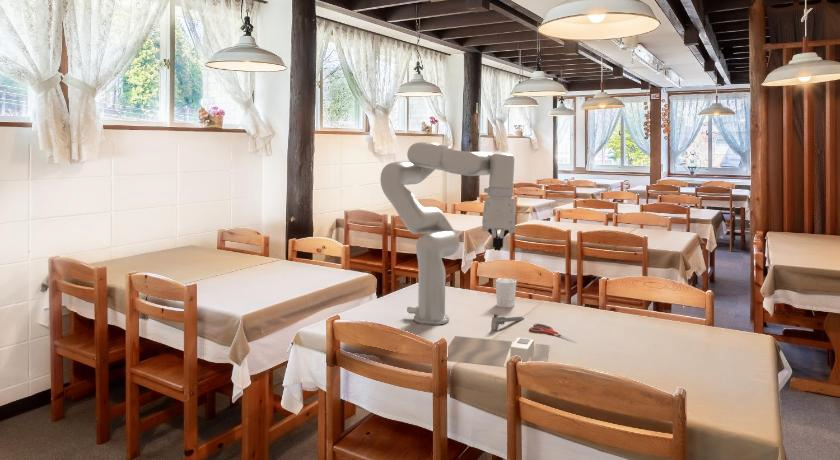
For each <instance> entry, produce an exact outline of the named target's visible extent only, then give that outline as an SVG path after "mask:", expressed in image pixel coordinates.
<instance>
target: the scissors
mask: <svg viewBox="0 0 840 460" xmlns="http://www.w3.org/2000/svg"><path fill="white" fill-rule="evenodd" d="M528 331H529V332H530V333H534V334H545V335H549V336H554V337H556V338H560V339H563V340H564V341H565V340H566V341H568V342H571V343H575V344H577V341H574V340H572V339H571V338H568V337H567V336H564V335H561V334H559V332H557V331H555V330H554V327H551V326H549V325H547V324H542V323H534V324H533V326H532V327H530V328H528Z"/></svg>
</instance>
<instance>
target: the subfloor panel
mask: <svg viewBox="0 0 840 460" xmlns="http://www.w3.org/2000/svg"><path fill="white" fill-rule="evenodd" d="M513 343H514V341H510V340H499V339H490V338H489V339H487V338H482V337H481V338H480V337H479V338H478V337H468V336H461V335H460V336H459V335H458V336H457V335H455V336H453V339H452V340H451V342H450V344H448V346H447V348H448V357H447V361H448V362H454V363H465V364H471V365H481V366H482V365H484V366H493V367H500V368H501V367H502V368H507V367H506V362H507V361H508V360H509V359H510V347H511V345H512V344H513ZM549 349H550V344H541V343H534V353H533V354H532V356H531V357H530V359H529V360H528V361H544V362H547V363H548V357H549V356H548V355H549ZM447 361H446V362H447Z"/></svg>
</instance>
